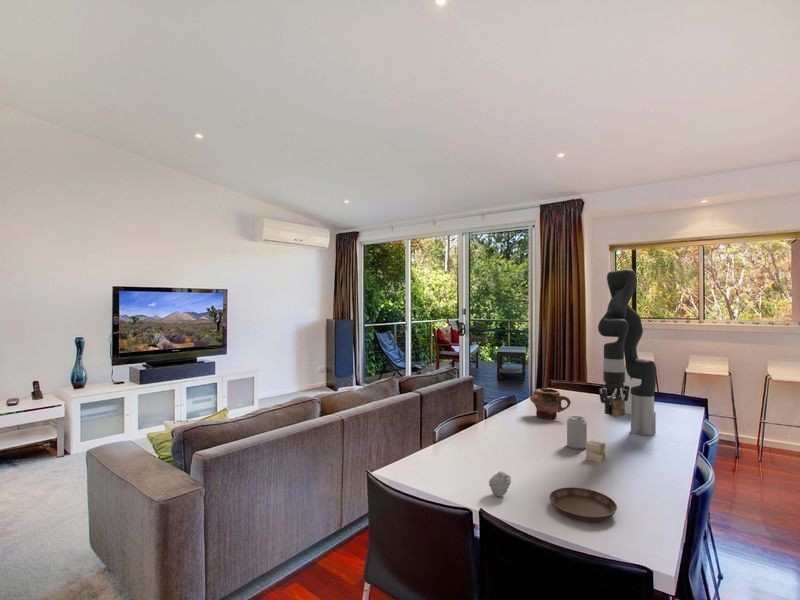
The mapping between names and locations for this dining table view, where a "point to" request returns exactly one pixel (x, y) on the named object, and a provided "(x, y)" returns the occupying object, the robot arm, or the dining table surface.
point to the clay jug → (548, 403)
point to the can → (576, 432)
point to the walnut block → (617, 407)
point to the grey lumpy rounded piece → (500, 483)
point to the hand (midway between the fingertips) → (614, 413)
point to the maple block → (595, 451)
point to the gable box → (631, 383)
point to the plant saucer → (583, 504)
